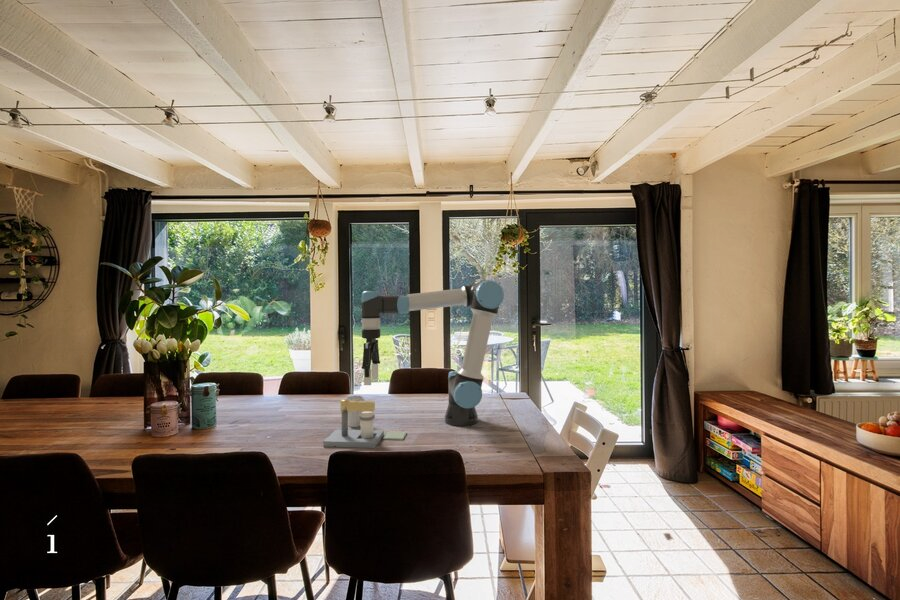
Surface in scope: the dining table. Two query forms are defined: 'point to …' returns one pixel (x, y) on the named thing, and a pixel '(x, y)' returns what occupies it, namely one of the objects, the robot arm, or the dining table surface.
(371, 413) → the cream banded cylinder
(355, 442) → the socket board
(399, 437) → the mat
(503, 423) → the dining table surface
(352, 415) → the cup
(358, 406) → the clip
